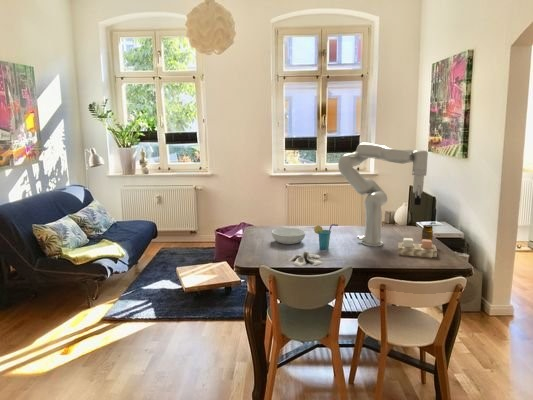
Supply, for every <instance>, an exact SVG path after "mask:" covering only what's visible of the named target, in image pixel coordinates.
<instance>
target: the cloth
mask: <svg viewBox="0 0 533 400" xmlns="http://www.w3.org/2000/svg"><path fill="white" fill-rule="evenodd" d="M320 258H321V256H320V255H319V254H315V253H313V254H312V253H310V252H309V251H308V250H305V251H303V253H301V254H295V255H293V256H292V257H291V258H290V259H288V260H287V261H288V262H293V261H294V262H293V265H295V266H298V267H303V266H305V265H307V263H310V264H311V266H313V265H315V266H318V265H321V264H323V263H322V261H321V260H317V259H320Z"/></svg>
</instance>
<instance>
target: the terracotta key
mask: <svg viewBox="0 0 533 400" xmlns="http://www.w3.org/2000/svg"><path fill="white" fill-rule="evenodd" d="M421 242H422V247H421V248H426V249H432V244H433V240H432V241H431V240H427V239H423V240H422V239H421Z"/></svg>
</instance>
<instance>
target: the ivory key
mask: <svg viewBox="0 0 533 400" xmlns="http://www.w3.org/2000/svg"><path fill="white" fill-rule="evenodd" d="M402 243H403V247H413V243H414V238H411V237H409V238H408V237H403V241H402Z"/></svg>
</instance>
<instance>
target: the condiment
mask: <svg viewBox="0 0 533 400" xmlns="http://www.w3.org/2000/svg"><path fill="white" fill-rule="evenodd" d="M433 235H434V230H433V225H431V224H424V225H423V228H422V230H421V242H420V243H418V244H422V240H423V239H427V240H431V241H432V242H433V237H434V236H433ZM432 245H434V244H433V243H432Z"/></svg>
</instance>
